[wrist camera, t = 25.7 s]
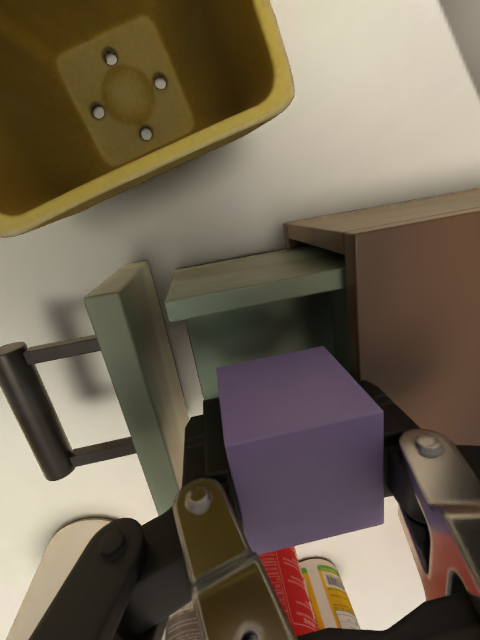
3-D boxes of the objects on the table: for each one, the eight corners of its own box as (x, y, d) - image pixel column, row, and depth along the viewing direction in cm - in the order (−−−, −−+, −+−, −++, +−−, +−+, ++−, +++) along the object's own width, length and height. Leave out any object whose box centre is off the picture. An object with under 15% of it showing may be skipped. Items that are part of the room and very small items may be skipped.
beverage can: (285, 482, 24) (362, 714, 13) (275, 531, 26) (336, 775, 15) (219, 483, 24) (240, 731, 12) (213, 534, 25) (227, 794, 14)
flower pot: (95, 227, 17) (-10, 246, 8) (-18, 32, 13) (-374, -262, 5) (247, 157, 16) (302, 102, 8) (168, -56, 13) (122, -513, 5)
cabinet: (301, 394, 22) (362, 501, 14) (283, 223, 18) (354, 233, 10) (469, 357, 23) (618, 438, 15) (487, 186, 19) (705, 169, 11)
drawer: (89, 441, 20) (39, 550, 14) (24, 282, 16) (-85, 329, 10) (341, 386, 21) (404, 462, 15) (332, 226, 17) (411, 236, 11)
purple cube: (234, 454, 13) (249, 558, 9) (215, 367, 11) (224, 446, 7) (330, 432, 13) (384, 524, 9) (323, 345, 11) (384, 410, 8)
